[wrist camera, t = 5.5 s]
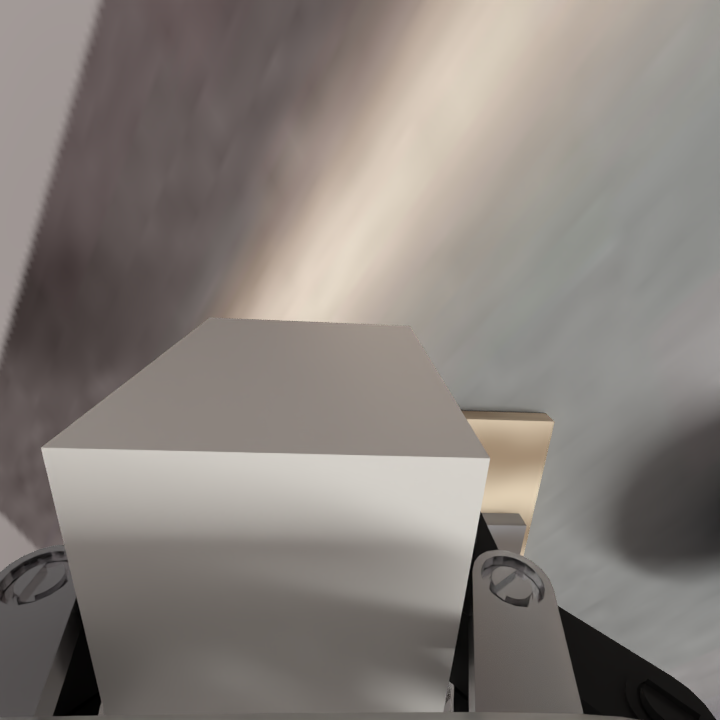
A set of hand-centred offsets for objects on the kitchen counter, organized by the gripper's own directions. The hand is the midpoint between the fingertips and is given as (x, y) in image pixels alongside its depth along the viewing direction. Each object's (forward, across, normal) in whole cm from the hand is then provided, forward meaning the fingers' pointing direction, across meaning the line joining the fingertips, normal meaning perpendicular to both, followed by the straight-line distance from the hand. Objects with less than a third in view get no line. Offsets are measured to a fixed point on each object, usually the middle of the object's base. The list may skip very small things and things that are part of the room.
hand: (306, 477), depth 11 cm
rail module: (+1, 0, 0) cm, 1 cm away
